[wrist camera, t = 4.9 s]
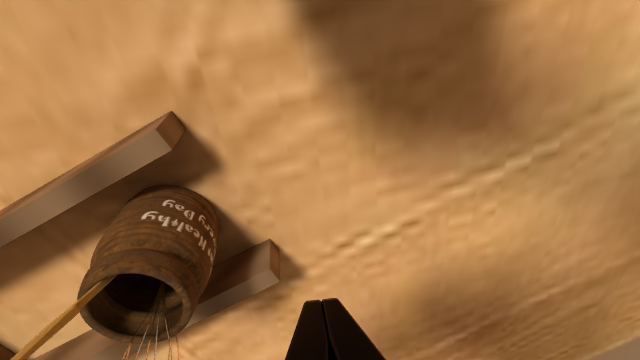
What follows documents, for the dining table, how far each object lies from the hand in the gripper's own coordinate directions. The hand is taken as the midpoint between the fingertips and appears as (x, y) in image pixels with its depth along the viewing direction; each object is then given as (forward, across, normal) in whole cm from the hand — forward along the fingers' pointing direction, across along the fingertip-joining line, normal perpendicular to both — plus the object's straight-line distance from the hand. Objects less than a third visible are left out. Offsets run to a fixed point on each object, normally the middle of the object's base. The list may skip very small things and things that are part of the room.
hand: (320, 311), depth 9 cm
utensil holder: (+14, +8, +5) cm, 17 cm away
